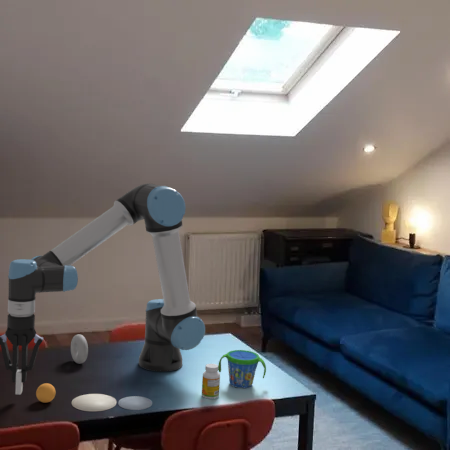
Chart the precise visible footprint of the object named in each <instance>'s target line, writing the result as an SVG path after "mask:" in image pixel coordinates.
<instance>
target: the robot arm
mask: <svg viewBox="0 0 450 450" xmlns="http://www.w3.org/2000/svg"><path fill="white" fill-rule="evenodd" d="M185 214H186V201H185V199H184V197H183V196H182V194H181V193H180V192H178V190H176V189H174V188H172V187H169V186H166V185H158V184H155V183H151V182H150V183H143V184H140V185H138V186H136V187H134V188H132V189H131V190H128V192H126V193H125V194H123V195H122V196H120V197H119V198H117V199H116V200H114V201H113V206H111V207H110V208H109V209H107V210H106V211H104V212H103V213H101V214H100V215H99V216H97V217H96V218H95V219H93V220H92V221H90V222H89V223H87V224H86V225H84V226H83V227H82V228H80V229H79V230H77V231H76V232H75V233H73V234H72V235H70V236H69V237H68V238H66V239H65V240H63V241H62V242H60V243H59V244H57V246H55V247H53V248H52V249H51V250H49V251H47V252H46V253H44V254H43V255H37V256H34V257H32V258H31V259H30V258H29V259H24V258H22V259H21V258H19V259H14V260H12V261H10V263H9V269H8V275H7V277H8V294H7V295H8V296H7V297H8V298H7V313H8V315H7V319H6V320H7V324H6V326H7V327H6V330H5V333H4V334H0V349H1V354H2V358H3V363H4V367H5V369H6V370H7V371H8V370H9V371H11V373H12V374H11V375H12V376H11V382H12V383H15V393H14V394H15V395H19V396H20V395H22V393H23V387H24V385H23V383H26V381H27V377H28V376H27V374H28V373H27V372H29V371H32V370H33V368H34V366H35V362H36V360H37V359H36V358H37V355H38V352H39V348H40V345H41V344H42V342H44V337H43V336H40V335H38V334H37V332H36V329H35V323H36V321H35V320H36V314H35V312H36V297H37V296H36V295H37V294H38V293H39V294H40V293H53V292H54V293H55V292H56V293H58V292H64V293H65V292H71V291H74V290H75V289H76V288H77V286H78V282H79V281H78V280H79V278H78V277H79V276H78V270H77V268H76V267H75V266H74V265H73V264H75V263H76V262H77V261H79V260H80V259H82V258H83V257H84V256H86V255H87V254H89V253H90V252H92V251H93V250H94V249H96V248H97V247H99V246H100V245H101V244H103V243H104V242H106V241H107V240H109V239H110V238H111V237H112V236H114V235H115V234H116V233H118V232H120V231H121V230H122V229H124V228H126V226H133V225H134V224H136V223H138V222H140V221H143V220H144V226H145V230H146V233H148V234H149V235H151V238H152V243H153V244H152V245H153V249H154V255H155V261H156V265H157V266H156V267H157V271H158V276H159V283H160V287H161V294H162V298H158V299H151V300H149V301H148V302H147V303H146V307H145V326H144V329H145V331H144V344H143V347H142V349H141V351H140V354H139V357H138V366H139V367H140V368H142V369H144V370H147V371H151V372H172V371H177V370H179V369H180V368H182V366H183V356H182V352H181V350H182V351H189V350H193V349H195V348H196V347H198V346H199V344H200V343H201V341H202V340H203V339H204V337H205V335H206V324H205V322H204V321H203V320H202V318H201V317H199V315H198V311H197V305H196V303H195V302H194V301H192V300H191V299H190V297H191V296H190V292H189V285H188V280H187V279H188V278H187V273H186V267H185V260H184V254H183V250H182V249H183V248H182V243H181V238H180V236H181V235H180V230H181V229H182V227H183V217H184V216H185ZM7 340H8V341H9V343H10V344H12V357H11V356H10V353H9V347H8V342H7ZM32 341H33V343H34V347H33V349H32V353H31V356H30V359H29V363H28V353H29V349H28V348H29V344H30V343H31V342H32ZM20 346H21V366H20V367H21V369H19V351H20V350H19V347H20ZM11 358H12V360H11Z"/></svg>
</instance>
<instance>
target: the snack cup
mask: <svg viewBox="0 0 450 450" xmlns="http://www.w3.org/2000/svg"><path fill="white" fill-rule="evenodd" d="M224 358H226V359H227V367H228V368H227V369H228V376H229V377H228V381H229V384H230V385H231V386H232V387H234V388H243V389H246V388H250V387H252V386H253V384H254V379H255V375H256V371H257V369H258V368H257V367H258V365H259V363H261V365H262V366H263V369H264V370H263V375H262V379H264V378H265V376H266V372H267V365H266V361H264V359H262V358H261V357H260V356H259V354H258V353H256V352H254V351H250V350H245V349H244V350H243V349H235V350H230V351H228V352H226V353H225V354H223V355H222V356H221V357H220V359H219V361H218V364H217V365H218V372H219V373H221V372H222V359H224Z"/></svg>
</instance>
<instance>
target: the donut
mask: <svg viewBox="0 0 450 450" xmlns="http://www.w3.org/2000/svg"><path fill="white" fill-rule="evenodd" d="M88 346H89V345H88V341H87V339H86V337H85V336H84V335H83V334H81V333H80V334H75V335H74V336H73V337H72V339H71V343H70V354H71V357H72V359H73V361H74V362H75V363H76V364H80V365H81V364H83V363H85V362H86V360H87V358H88V355H89V347H88Z"/></svg>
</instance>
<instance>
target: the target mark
mask: <svg viewBox="0 0 450 450" xmlns="http://www.w3.org/2000/svg"><path fill="white" fill-rule="evenodd" d="M117 404H118V401H117V399H116V398H115V397H114V396H111V395H107V394H103V393H88V394H83V395H82V394H80V395H79V396H76V397H74V398H73V399H72V401H71V406H72V407H73V408H74V409H77V410H79V411H82V412H83V411H84V412H103V411H107V410H110V409H113V408H114V407H115V406H116V405H117Z"/></svg>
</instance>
